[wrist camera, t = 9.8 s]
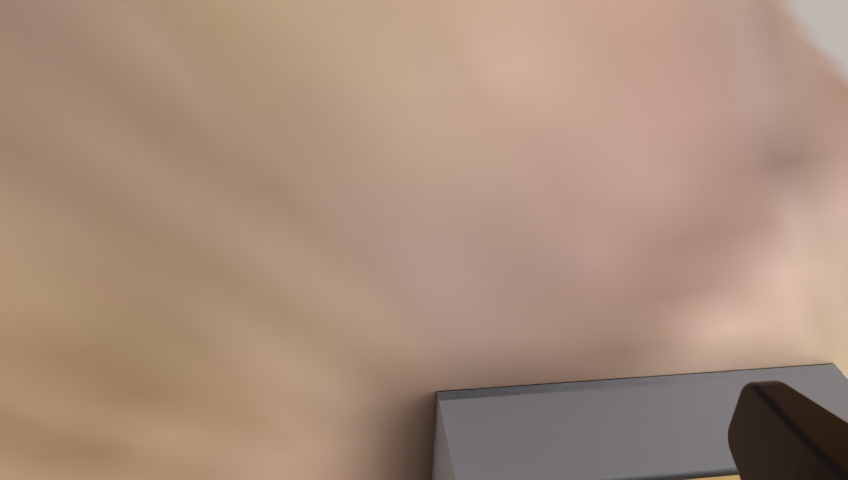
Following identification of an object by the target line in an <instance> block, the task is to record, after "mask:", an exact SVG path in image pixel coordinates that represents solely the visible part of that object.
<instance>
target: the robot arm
mask: <svg viewBox="0 0 848 480" xmlns="http://www.w3.org/2000/svg"><path fill="white" fill-rule="evenodd" d="M728 444H729V449H730V452H731V454H732V457H733V460H734V463H735V465H736V468H737V471H738V474H739V476H740V479H741V480H848V422H846V421H845V420H843V419H841V418H840V417H838V416H837V415H835V414H833V413H832V412H830V411H829V410H827V409H825V408H824V407H822V406H821V405H819V404H817V403H816V402H814V401H813V400H811V399H809V398H808V397H806V396H805V395H803V394H801V393H800V392H798V391H797V390H795V389H794V388H792V387H790V386H789V385H787V384H785V383H783V382H781V381H777V380H769V381H755V382H749V383H747V384H746V385H745V386H744V387H743V388H742V390H741V392H740V395H739V398H738V401H737V404H736V407H735V410H734V413H733V416H732V419H731V422H730V425H729V428H728Z"/></svg>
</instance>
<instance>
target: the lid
mask: <svg viewBox="0 0 848 480" xmlns="http://www.w3.org/2000/svg"><path fill="white" fill-rule="evenodd" d="M687 480H741V479H740V476H739V475H732V476H721V477H710V478H698V479H687Z"/></svg>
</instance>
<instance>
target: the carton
mask: <svg viewBox="0 0 848 480" xmlns="http://www.w3.org/2000/svg"><path fill="white" fill-rule="evenodd" d="M769 380H777V381H781V382H783V383H785V384H787V385H789V386H790V387H792V388H794V389H795V390H797V391H798V392H800V393H801V394H803V395H805V396H806V397H808V398H809V399H811V400H813V401H814V402H816V403H817V404H819V405H821V406H822V407H824V408H825V409H827V410H829V411H830V412H832V413H833V414H835V415H837V416H838V417H840V418H841V419H843V420H845V421H846V422H848V379H847V378H846V377H845V376H844V375H843V374H842V372H841V371H840V370H839V369H838V368H837V367H836V365H835V364H826V365H812V366H798V367H783V368H769V369H755V370H741V371H727V372H713V373H699V374H685V375H670V376H656V377H642V378H628V379H614V380H600V381H586V382H572V383H557V384H543V385H529V386H515V387H501V388H487V389H473V390H459V391H444V392H437V401H436V418H435V435H434V453H433V470H432V480H687V479H698V478H710V477H721V476H732V475H739V474H738V471H737V468H736V465H735V463H734V460H733V457H732V454H731V452H730V449H729V444H728V428H729V425H730V422H731V419H732V416H733V413H734V410H735V407H736V404H737V401H738V398H739V395H740V392H741V390H742V388H743V387H744V386H745V385H746V384H747V383H749V382H755V381H769Z"/></svg>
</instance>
